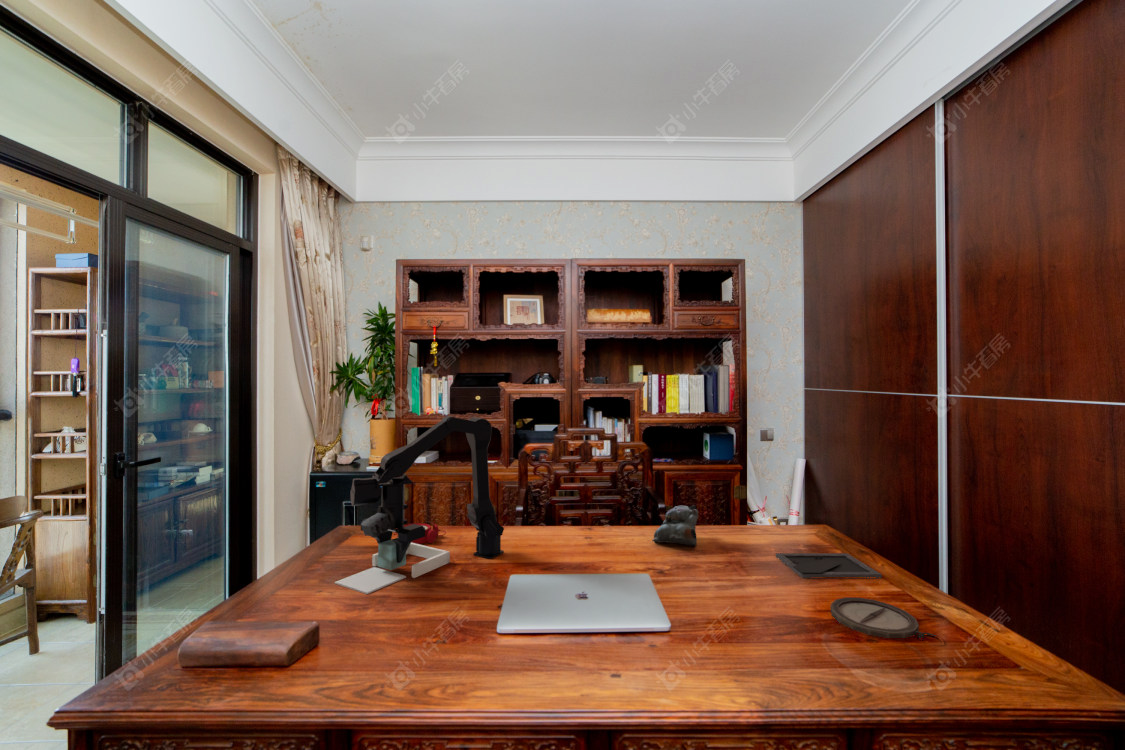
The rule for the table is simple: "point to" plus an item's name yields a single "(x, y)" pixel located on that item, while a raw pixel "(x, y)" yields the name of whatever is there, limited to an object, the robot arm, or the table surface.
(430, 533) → the alarm clock
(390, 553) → the teal block
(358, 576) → the grey mat
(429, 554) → the white u-shaped frame
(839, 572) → the picture frame
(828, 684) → the table surface
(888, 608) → the compass
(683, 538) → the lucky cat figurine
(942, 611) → the table surface
